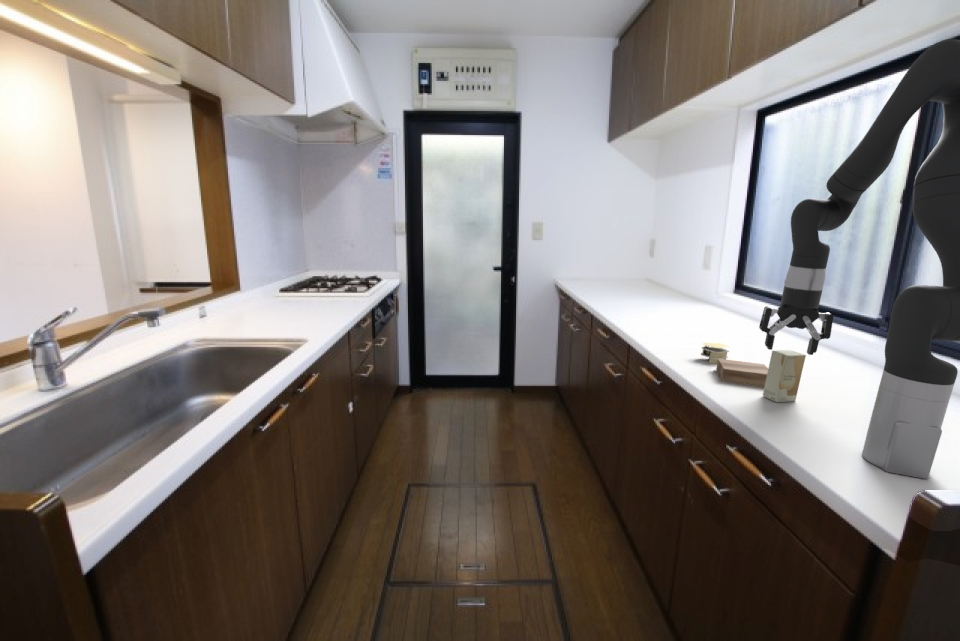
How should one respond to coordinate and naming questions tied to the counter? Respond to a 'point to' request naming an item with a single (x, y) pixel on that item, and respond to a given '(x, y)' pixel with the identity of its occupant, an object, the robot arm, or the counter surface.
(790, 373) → the skincare box
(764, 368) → the walnut block
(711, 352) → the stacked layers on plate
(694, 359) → the counter surface
